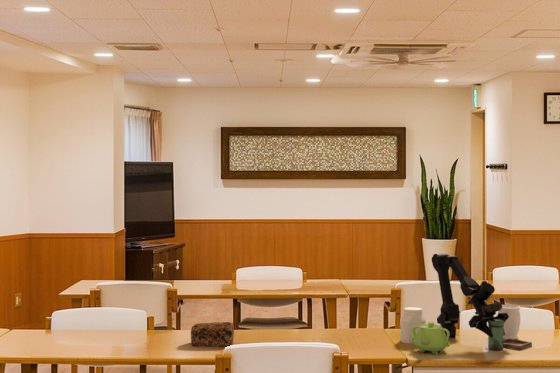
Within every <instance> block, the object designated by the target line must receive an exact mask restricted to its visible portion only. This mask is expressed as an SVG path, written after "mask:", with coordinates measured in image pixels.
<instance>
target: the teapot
mask: <svg viewBox="0 0 560 373" xmlns="http://www.w3.org/2000/svg"><path fill="white" fill-rule="evenodd" d="M416 328H419V330H418V332H417V335H416V332H415V329H416ZM444 331H446V332H447V337H446V334H445V332H444ZM413 334H414V338H412V342H414V343H413V344H414V345H415V347H416V349H418V352H419V353H425V352H426V351H430V352H431V354H432V355H439V353H438V352H440V353H441V352H442V351H443V352H444V350H445V349H446V347H447V348H449V347H450V346H451V342H450V341H449V339H450V338H449V336H450V333H449V331H448V330H447V329H443V327H442V326H440V324H435V322H433V321H429V322H427V324H425V325H422V326H415V327H414V328H413ZM414 339H415V341H414Z"/></svg>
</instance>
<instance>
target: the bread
mask: <svg viewBox="0 0 560 373" xmlns="http://www.w3.org/2000/svg"><path fill="white" fill-rule="evenodd" d="M234 337H235V326H234V323H233V322H230V321H226V322H225V321H221V322H217V321H215V322H214V321H213V322H203V323H202V322H201V323H195V324H193V325H192V326H191V330H190V343H191V346H192V347H212V348H213V347H220V348H221V347H229V346H228V345H232V346H233V344H234Z"/></svg>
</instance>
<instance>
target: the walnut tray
mask: <svg viewBox="0 0 560 373" xmlns="http://www.w3.org/2000/svg"><path fill="white" fill-rule="evenodd" d="M532 346H533V342H532V341H525V340H521V339H520V340H519V339H503V348H504V349H512V350H516V351H521V350H524V349H528V348H530V347H531V348H532Z"/></svg>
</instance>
